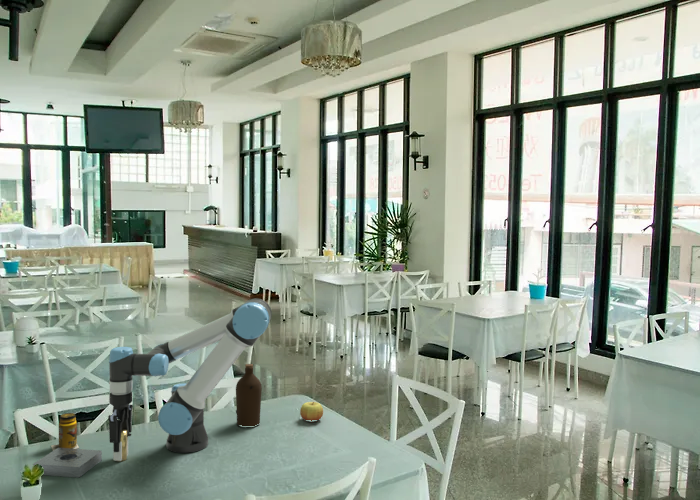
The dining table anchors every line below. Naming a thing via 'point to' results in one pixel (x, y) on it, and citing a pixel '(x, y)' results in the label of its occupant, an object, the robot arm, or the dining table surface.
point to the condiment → (67, 432)
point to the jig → (69, 462)
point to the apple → (311, 411)
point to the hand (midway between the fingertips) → (120, 457)
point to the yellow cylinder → (124, 444)
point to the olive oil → (248, 398)
